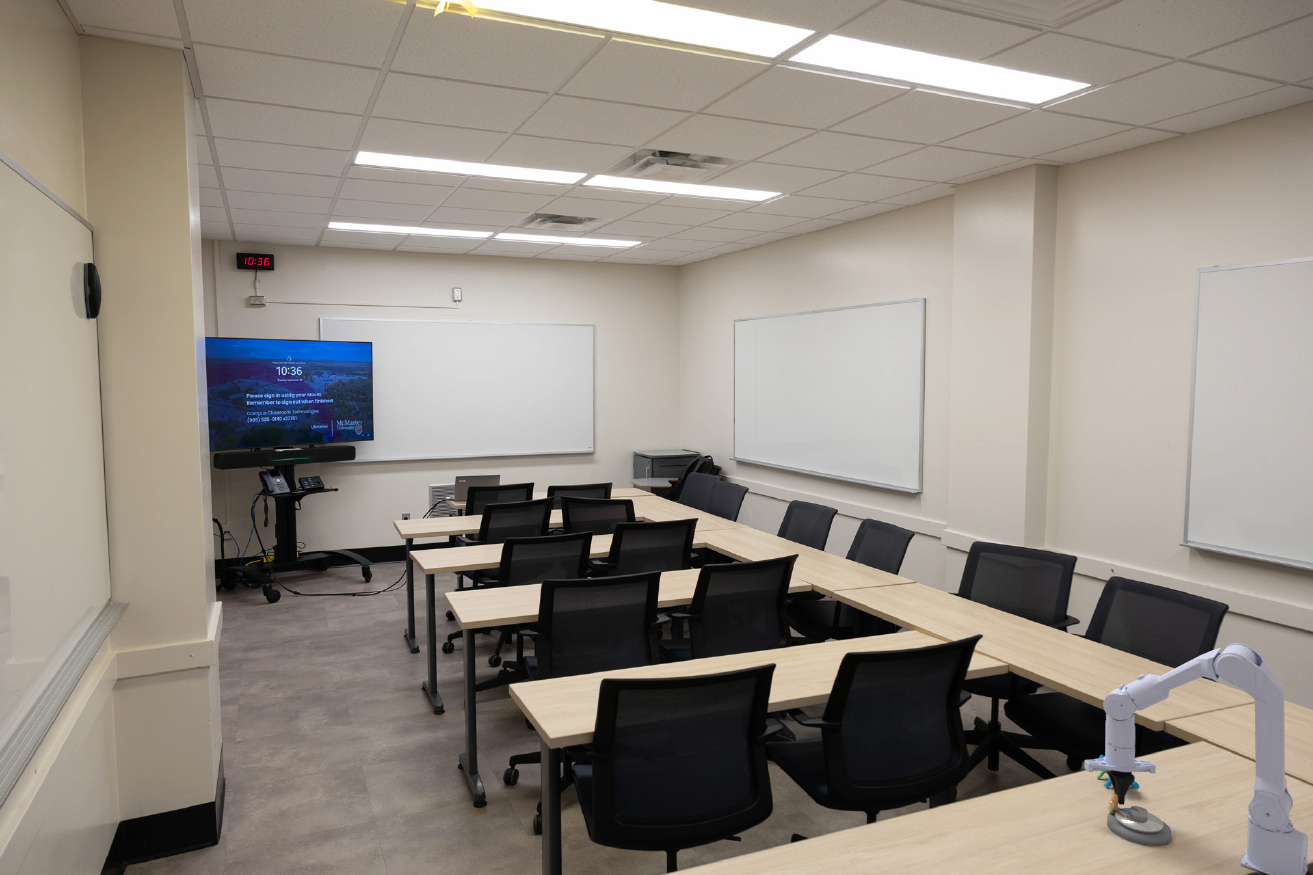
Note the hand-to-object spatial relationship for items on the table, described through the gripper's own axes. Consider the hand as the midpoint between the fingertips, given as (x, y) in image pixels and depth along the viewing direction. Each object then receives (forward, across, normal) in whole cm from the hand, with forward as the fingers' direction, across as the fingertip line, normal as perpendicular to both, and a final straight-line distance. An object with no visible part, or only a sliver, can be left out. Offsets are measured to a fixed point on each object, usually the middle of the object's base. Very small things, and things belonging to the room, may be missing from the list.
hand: (1119, 802), depth 176 cm
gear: (+4, -7, -15) cm, 17 cm away
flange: (+2, -1, +4) cm, 5 cm away
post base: (+4, -2, +5) cm, 6 cm away
